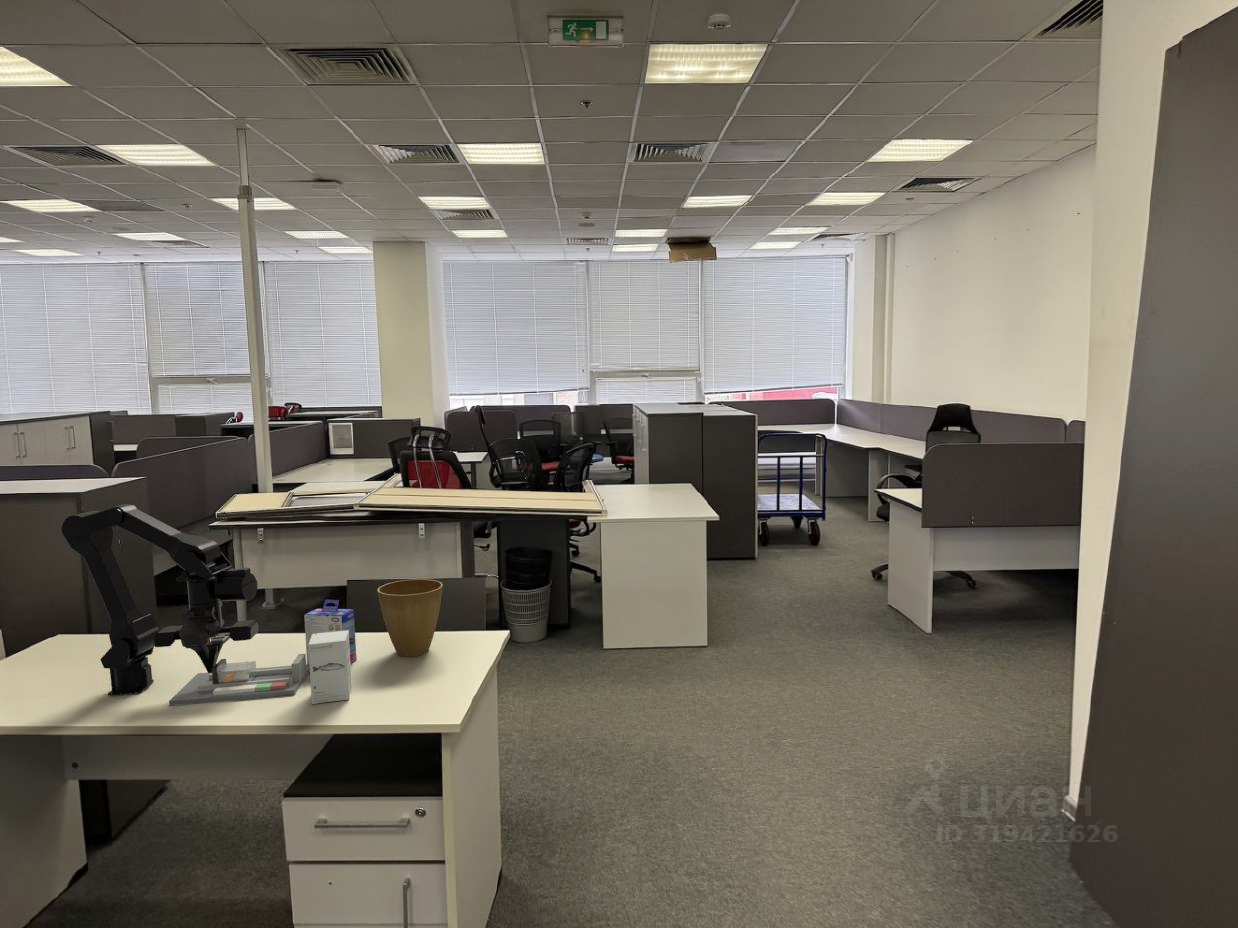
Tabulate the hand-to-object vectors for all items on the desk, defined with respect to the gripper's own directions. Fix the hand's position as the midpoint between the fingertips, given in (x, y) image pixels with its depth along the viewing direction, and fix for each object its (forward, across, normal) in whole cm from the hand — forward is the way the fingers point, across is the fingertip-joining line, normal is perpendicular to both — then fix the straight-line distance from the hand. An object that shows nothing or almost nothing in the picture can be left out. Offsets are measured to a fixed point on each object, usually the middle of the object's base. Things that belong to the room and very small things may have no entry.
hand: (210, 672), depth 158 cm
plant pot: (+4, +40, +13) cm, 43 cm away
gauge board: (+4, +6, 0) cm, 7 cm away
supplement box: (+4, +26, -10) cm, 29 cm away
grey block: (+2, +5, -2) cm, 6 cm away
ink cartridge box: (+4, +22, +10) cm, 25 cm away
